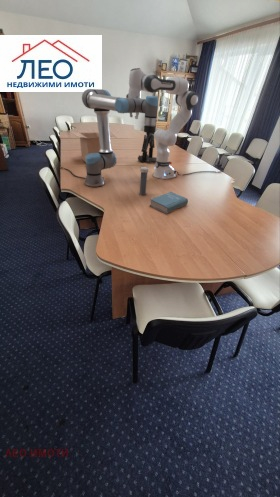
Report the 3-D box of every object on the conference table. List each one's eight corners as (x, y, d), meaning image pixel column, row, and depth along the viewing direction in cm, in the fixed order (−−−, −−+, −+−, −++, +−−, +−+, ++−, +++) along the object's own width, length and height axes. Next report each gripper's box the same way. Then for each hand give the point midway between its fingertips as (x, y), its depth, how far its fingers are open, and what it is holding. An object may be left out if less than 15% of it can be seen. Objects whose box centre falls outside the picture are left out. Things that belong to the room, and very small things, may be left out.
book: (169, 197, 170) (170, 191, 167) (186, 205, 161) (188, 198, 158) (149, 205, 157) (150, 199, 154) (167, 214, 148) (168, 207, 145)
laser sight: (156, 164, 241) (157, 154, 235) (136, 162, 244) (137, 152, 238) (158, 162, 249) (159, 152, 243) (138, 159, 252) (139, 150, 246)
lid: (139, 171, 161) (139, 168, 160) (141, 169, 166) (141, 166, 165) (147, 173, 160) (147, 169, 159) (149, 170, 165) (149, 167, 164)
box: (116, 165, 229) (116, 136, 213) (83, 168, 214) (80, 137, 198) (102, 154, 259) (101, 128, 243) (71, 156, 244) (68, 129, 228)
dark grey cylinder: (138, 194, 172) (140, 169, 160) (140, 192, 176) (142, 167, 164) (144, 195, 171) (146, 170, 160) (146, 193, 175) (148, 168, 163)
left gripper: (149, 128, 130) (146, 165, 143) (160, 123, 149) (157, 156, 162) (137, 126, 132) (136, 163, 145) (150, 122, 151) (147, 155, 164)
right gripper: (144, 97, 156) (143, 120, 164) (132, 95, 170) (131, 116, 179) (136, 97, 153) (135, 119, 162) (125, 95, 168) (124, 116, 176)
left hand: (147, 159), depth 153 cm, fingers open, 13 cm apart
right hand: (133, 118), depth 170 cm, fingers open, 8 cm apart
